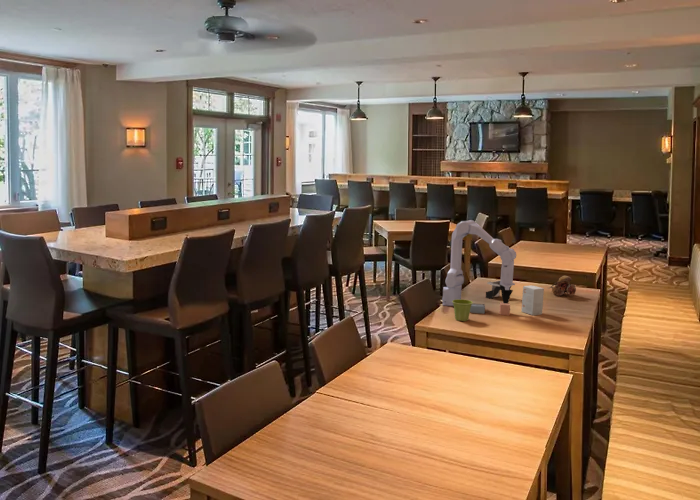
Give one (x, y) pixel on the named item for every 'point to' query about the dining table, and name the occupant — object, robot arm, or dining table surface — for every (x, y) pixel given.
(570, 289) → the seed pod
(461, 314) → the plant pot
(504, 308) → the stub
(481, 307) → the slotted gray housing
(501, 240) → the robot arm
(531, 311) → the small box
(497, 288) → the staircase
